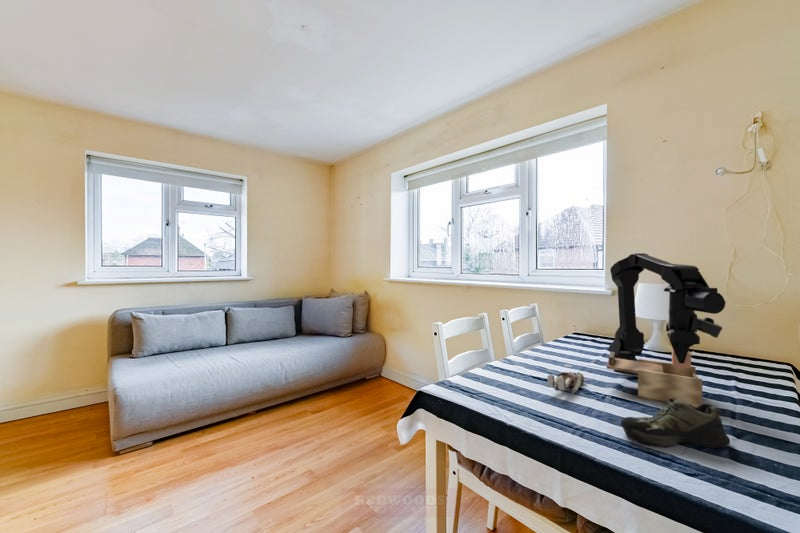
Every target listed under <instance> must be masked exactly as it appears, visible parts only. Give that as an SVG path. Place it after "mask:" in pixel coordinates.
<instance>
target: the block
mask: <svg viewBox="0 0 800 533" xmlns="http://www.w3.org/2000/svg"><path fill="white" fill-rule="evenodd" d="M671 363H672V365H674V366H681V367H687V368H691V366H692V353H691V352H690V350H688V353H687V356H686V359H685V362H684V363H679V361H678V359H677V357H676V354H675V352H674V350H673V348H672V349H671Z"/></svg>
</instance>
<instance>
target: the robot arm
mask: <svg viewBox="0 0 800 533" xmlns="http://www.w3.org/2000/svg"><path fill="white" fill-rule="evenodd" d="M645 270H647V271H649V272H651V273H654V274H657V275H659V276H660V277H661V280H662V281H664V282H666V283H667V284H668V285H667V287H665V288H664V289H663V291H664V292H667V293H669V294H668V295H669V296H668V297H669V298H668V299H669V300H668V301H669V302H668V322H667V323H666V324H665V332H667V333H666V336H667V337H668V338H667V339H668V340H669V343H670V345H671V348H672V349H673V350H674V352H675V354H676V357H677V359H678V361H679V363H684V362H685V359H686V356H687V353H688V351H690V348H691V347H692V346H694V345H701V343H700V342H701V336H700V335H699V334H698V331H699V332H701V333H705V334H707V335H710V336H711V337H713V338H717V339H718V337H719V336H720V333H721V332H722V330H723V326H721V325H720V324H716V323H715V319H713V318H711V317H708V316H707V317H704V318H699V317H698V314H696V312H701V313H707V314H712V315H715V314H719V313H721V312H723V310H724V309H725V307H726V300H725V298H724V296H723V295H722V294H721V293H720V292H718V288H717V287H710V286H709V284H708V283H707V282H706V279H705V278H704V276H703V275H702V274H701V272H700V271H699V270H700V269H699V268H698V267H697V266H695V265H689V264H680V263H679V264H678V263H671V262H670V261H669V262H668V261H666V260H663V259H660V258H657V257H654V256H651V255H649V254H648V253H645V252H643V253H640V252H639V253H636V252H635V253H630V254H629V256H627V257H624V258H623V259H620V260H618V261H617V262H615V263H614V264H612V266H611V267H610V274H611V276H610V277H611V279H612V282H613V283H614V284H615V286H616V287H617V298H618V300H617V302H618V320H619V327H618V328H617V330H616V331H615V334H614V340H613V341H612V342H611V343H610V345H609V346H608V349H609V353H610V352H615V358H619V359H626V360H633V361H638V358H636V356H642V353H643V350H644V346H645V344H646V342H645V338H644V337H645V334H644V332H643V331H640V330H639V328H638V327H637V319H636V318H637V316H636V303H635V302H636V300H635V299H636V298H635V286H636V284H637V283H638V281H639V278H640V274H642V272H643V271H645ZM614 372H620V373H627V374H633V375H636V374H637V373H631V372H625V371H619V370H614Z"/></svg>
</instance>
